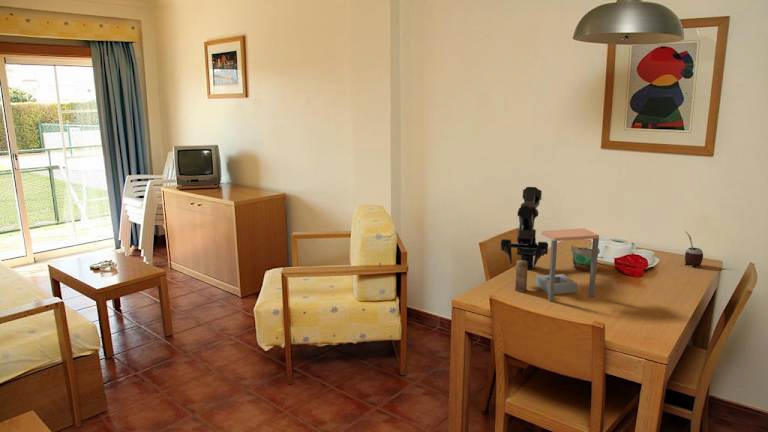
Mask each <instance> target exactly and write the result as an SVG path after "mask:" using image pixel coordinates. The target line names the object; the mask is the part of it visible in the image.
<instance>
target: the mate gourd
mask: <svg viewBox="0 0 768 432" xmlns="http://www.w3.org/2000/svg"><path fill="white" fill-rule="evenodd" d="M684 233H686V235H687V236H688V239H689V242H690V247H688V248H687V249H686V251H685V253H684V262H685V263H684V265H685V266H687V265H692V266H691V268H692V267H694V268H695V267H696V266H702V265H701V264H703V258H704V252H703V250H702V249H701V248H698V247H694V245H693V242H692V241H693V240H692V237H691V235H690V234H689V233H688V232H687V231H686V230H685V231H684Z"/></svg>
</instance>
